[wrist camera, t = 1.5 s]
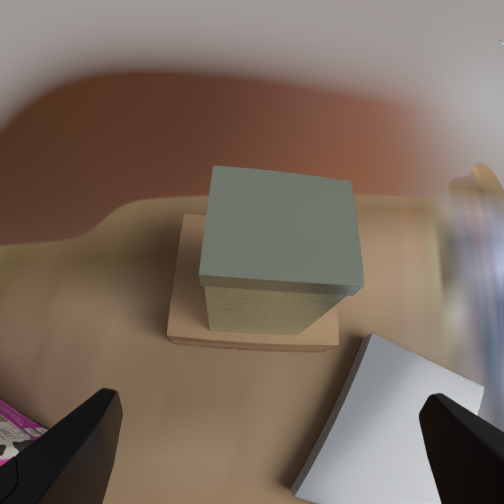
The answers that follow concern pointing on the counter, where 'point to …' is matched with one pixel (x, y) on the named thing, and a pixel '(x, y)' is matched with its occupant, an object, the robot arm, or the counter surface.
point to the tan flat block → (196, 315)
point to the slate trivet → (380, 430)
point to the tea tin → (277, 250)
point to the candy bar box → (16, 431)
